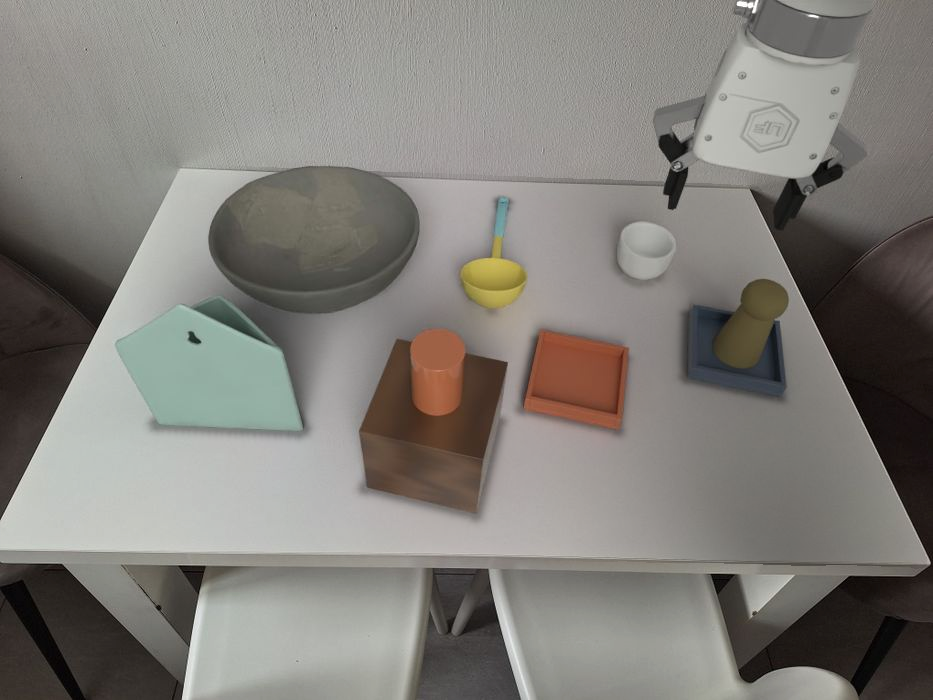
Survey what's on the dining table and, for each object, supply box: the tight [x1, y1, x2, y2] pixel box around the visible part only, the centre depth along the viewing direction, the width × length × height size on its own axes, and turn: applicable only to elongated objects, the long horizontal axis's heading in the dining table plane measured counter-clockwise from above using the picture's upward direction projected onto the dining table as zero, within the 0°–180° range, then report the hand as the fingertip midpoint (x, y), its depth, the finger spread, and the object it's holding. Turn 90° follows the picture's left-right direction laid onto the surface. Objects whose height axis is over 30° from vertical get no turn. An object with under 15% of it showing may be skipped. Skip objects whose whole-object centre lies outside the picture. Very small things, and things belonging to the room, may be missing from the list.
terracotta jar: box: [410, 328, 466, 416], centre depth 62 cm, size 5×5×7 cm
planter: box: [114, 294, 304, 432], centre depth 68 cm, size 16×8×20 cm, turn 89°
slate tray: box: [686, 304, 787, 398], centre depth 83 cm, size 11×11×2 cm
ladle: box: [459, 196, 528, 309], centre depth 93 cm, size 9×26×6 cm, turn 174°
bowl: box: [207, 165, 421, 314], centre depth 86 cm, size 26×26×10 cm
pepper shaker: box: [712, 278, 790, 369], centre depth 80 cm, size 6×6×11 cm
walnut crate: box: [358, 338, 509, 514], centre depth 68 cm, size 12×12×11 cm
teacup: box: [616, 219, 677, 281], centre depth 92 cm, size 10×8×5 cm
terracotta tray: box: [522, 329, 630, 430], centre depth 79 cm, size 11×11×2 cm
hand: (724, 211), depth 61 cm, fingers open, 9 cm apart
